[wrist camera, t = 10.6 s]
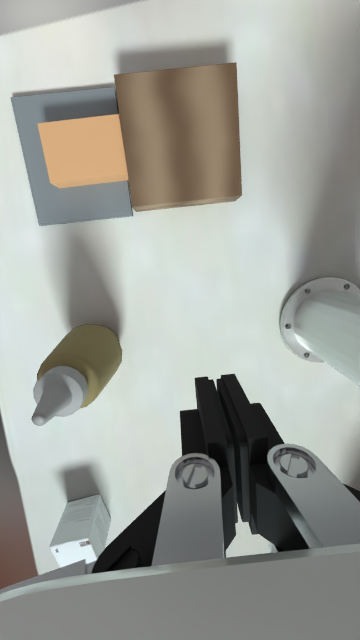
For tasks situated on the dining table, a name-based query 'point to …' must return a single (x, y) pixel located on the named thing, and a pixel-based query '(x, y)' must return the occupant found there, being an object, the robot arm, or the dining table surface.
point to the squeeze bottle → (75, 372)
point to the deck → (181, 136)
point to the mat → (47, 197)
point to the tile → (84, 151)
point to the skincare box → (81, 531)
